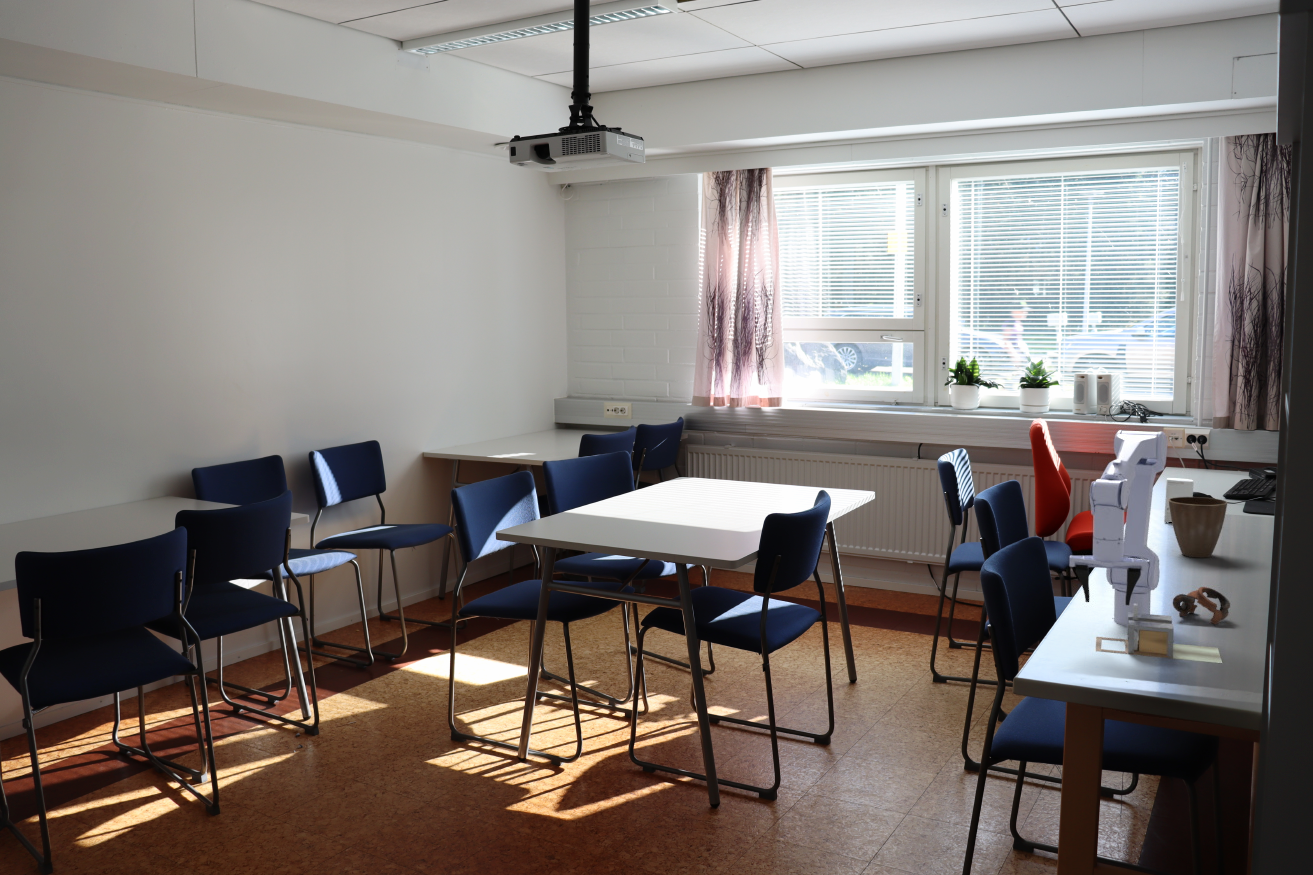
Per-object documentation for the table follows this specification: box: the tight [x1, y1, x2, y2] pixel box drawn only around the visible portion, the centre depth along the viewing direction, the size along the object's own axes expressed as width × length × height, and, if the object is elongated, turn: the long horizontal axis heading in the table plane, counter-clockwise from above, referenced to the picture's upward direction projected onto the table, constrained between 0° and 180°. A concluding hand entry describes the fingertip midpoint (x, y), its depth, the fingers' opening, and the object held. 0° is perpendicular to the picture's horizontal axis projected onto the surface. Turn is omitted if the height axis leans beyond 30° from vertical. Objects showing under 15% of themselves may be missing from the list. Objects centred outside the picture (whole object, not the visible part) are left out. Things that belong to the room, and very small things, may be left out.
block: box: [1138, 630, 1167, 654], centre depth 201 cm, size 5×5×4 cm
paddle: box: [1133, 603, 1139, 650], centre depth 202 cm, size 6×1×9 cm, turn 155°
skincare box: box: [1163, 477, 1194, 523], centre depth 332 cm, size 8×6×15 cm
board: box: [1095, 636, 1223, 664], centre depth 201 cm, size 10×22×2 cm, turn 65°
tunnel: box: [1127, 613, 1175, 659], centre depth 201 cm, size 9×8×6 cm
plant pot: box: [1169, 496, 1228, 559], centre depth 285 cm, size 15×15×16 cm
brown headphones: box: [1172, 586, 1231, 625], centre depth 225 cm, size 12×10×8 cm
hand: (1107, 602), depth 204 cm, fingers open, 7 cm apart
